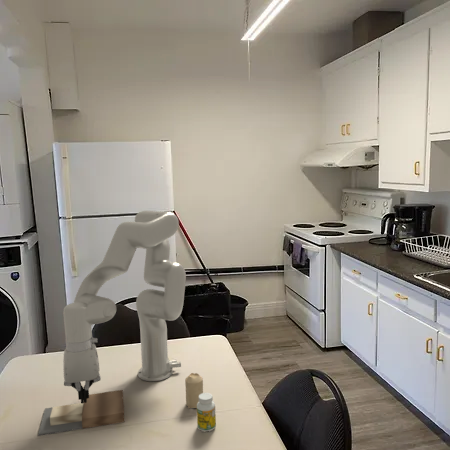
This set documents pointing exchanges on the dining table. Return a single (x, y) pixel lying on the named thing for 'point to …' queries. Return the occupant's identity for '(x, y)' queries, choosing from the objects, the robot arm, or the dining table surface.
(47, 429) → the mat
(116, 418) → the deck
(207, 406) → the supplement bottle
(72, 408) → the tile
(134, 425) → the dining table surface
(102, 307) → the robot arm
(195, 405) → the candle
